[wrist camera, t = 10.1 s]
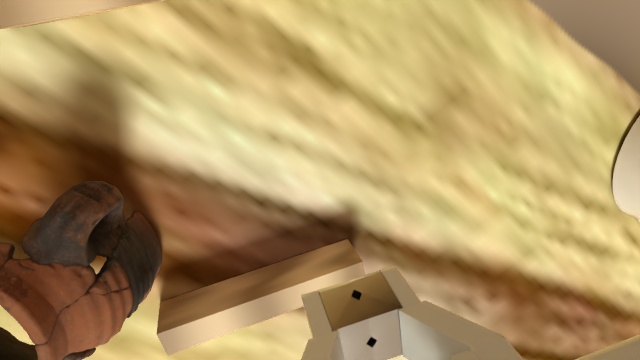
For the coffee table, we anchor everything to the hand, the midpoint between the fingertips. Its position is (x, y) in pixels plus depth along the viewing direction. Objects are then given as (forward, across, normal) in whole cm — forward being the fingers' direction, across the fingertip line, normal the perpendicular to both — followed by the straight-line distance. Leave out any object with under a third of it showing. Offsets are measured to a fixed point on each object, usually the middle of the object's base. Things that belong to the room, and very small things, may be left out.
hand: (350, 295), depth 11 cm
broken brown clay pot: (+14, +13, +3) cm, 19 cm away
